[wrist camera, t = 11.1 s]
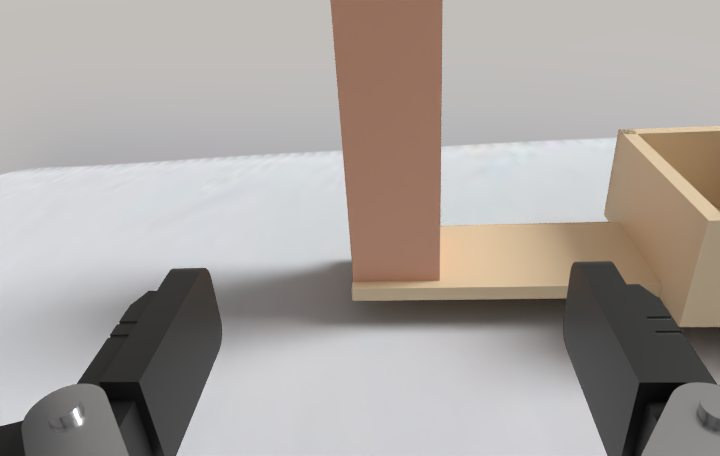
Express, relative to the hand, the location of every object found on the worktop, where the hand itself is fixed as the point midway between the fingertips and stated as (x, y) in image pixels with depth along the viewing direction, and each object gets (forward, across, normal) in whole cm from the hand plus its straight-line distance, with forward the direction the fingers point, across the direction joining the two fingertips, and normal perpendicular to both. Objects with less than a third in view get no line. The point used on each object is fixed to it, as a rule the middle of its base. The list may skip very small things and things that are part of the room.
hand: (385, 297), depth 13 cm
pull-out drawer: (+11, -10, +6) cm, 16 cm away
